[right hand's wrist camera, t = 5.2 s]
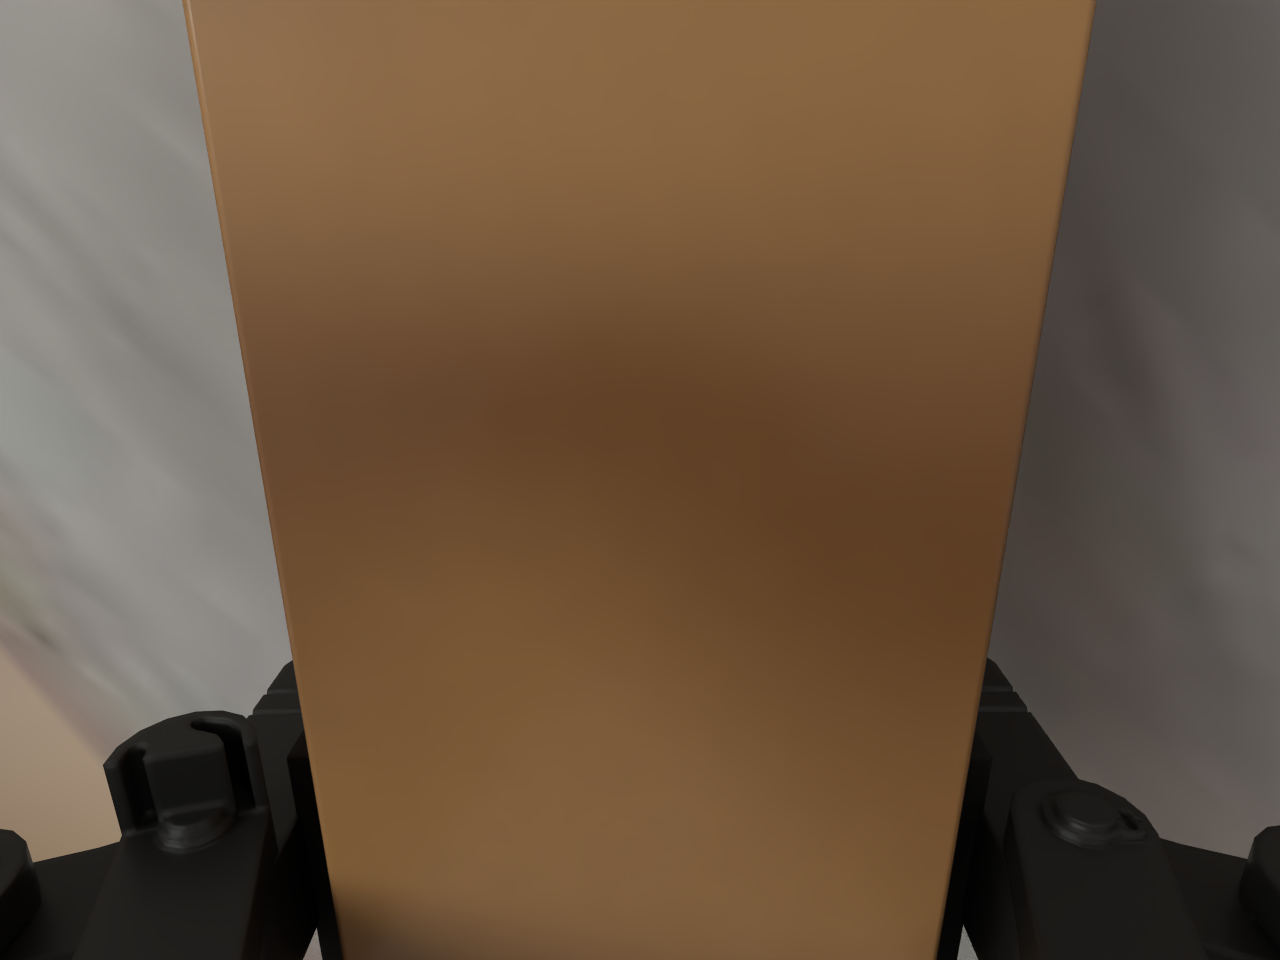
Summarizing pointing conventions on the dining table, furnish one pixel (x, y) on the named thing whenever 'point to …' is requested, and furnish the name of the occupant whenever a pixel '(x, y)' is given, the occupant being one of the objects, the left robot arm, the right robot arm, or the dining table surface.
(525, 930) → the bar
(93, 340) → the dining table surface
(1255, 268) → the dining table surface
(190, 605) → the dining table surface
